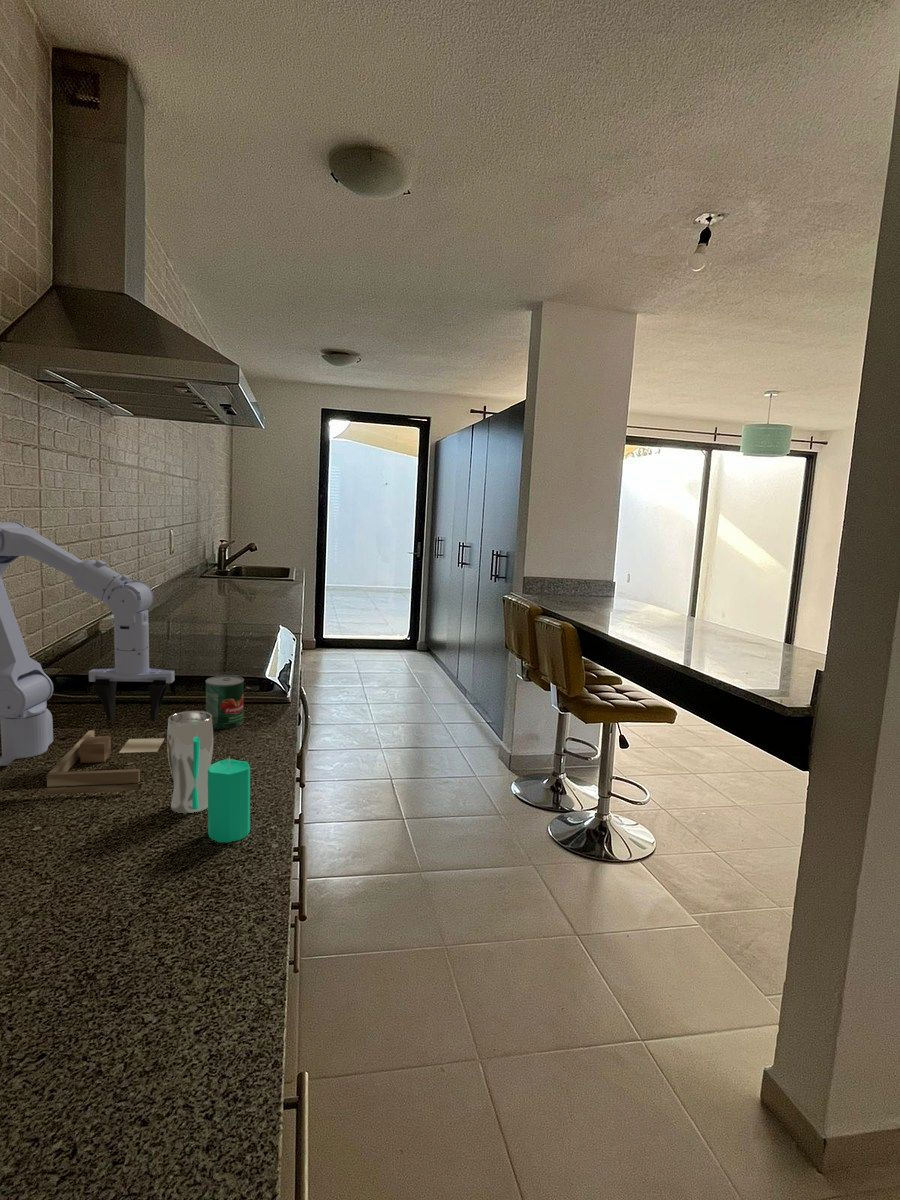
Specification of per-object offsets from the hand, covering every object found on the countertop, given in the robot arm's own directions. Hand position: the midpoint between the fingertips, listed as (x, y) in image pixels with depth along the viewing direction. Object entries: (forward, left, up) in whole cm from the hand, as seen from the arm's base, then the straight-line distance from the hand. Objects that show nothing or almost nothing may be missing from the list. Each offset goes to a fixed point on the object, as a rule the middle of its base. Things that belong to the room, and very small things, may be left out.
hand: (133, 719), depth 123 cm
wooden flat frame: (+2, -3, -8) cm, 9 cm away
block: (+1, -6, -7) cm, 9 cm away
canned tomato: (-18, +14, -9) cm, 24 cm away
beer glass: (+20, +13, -9) cm, 26 cm away
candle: (+30, +20, -9) cm, 37 cm away
